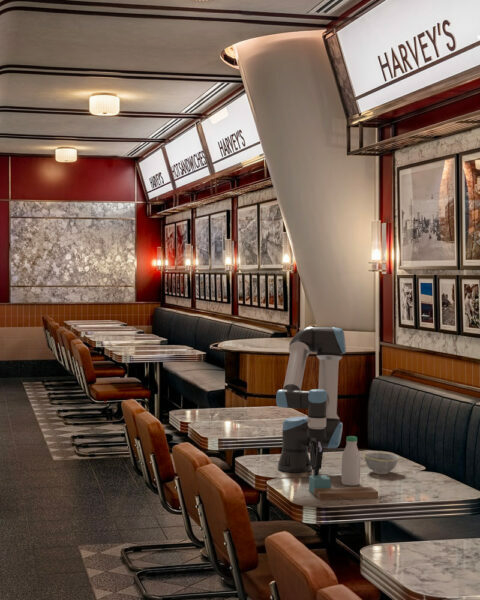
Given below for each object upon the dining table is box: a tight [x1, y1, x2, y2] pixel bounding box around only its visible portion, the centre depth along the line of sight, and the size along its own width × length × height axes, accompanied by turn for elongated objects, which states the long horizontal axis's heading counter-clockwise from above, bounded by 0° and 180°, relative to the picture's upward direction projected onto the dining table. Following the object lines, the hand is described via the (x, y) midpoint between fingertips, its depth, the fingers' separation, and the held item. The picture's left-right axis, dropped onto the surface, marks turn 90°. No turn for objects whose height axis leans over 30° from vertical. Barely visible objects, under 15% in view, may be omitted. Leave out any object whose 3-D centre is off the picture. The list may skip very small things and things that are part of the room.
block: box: [308, 474, 332, 495], centre depth 356 cm, size 7×7×6 cm
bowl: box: [363, 452, 400, 475], centre depth 395 cm, size 16×16×8 cm
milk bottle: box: [340, 435, 361, 487], centre depth 372 cm, size 8×8×20 cm
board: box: [313, 486, 379, 501], centre depth 351 cm, size 8×24×2 cm, turn 102°
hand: (315, 484), depth 362 cm, fingers closed
